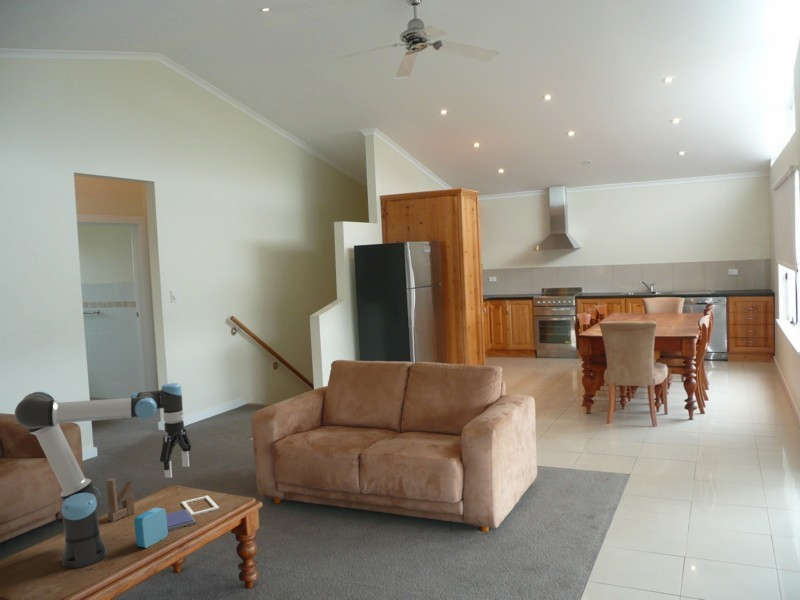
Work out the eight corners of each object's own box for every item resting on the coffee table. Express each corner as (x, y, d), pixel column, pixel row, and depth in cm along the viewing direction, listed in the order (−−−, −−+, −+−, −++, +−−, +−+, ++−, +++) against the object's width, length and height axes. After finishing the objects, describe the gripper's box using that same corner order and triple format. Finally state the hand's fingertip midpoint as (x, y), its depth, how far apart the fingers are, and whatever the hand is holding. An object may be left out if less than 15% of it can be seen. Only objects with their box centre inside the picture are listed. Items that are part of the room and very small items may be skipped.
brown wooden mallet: (135, 513, 285) (131, 473, 284) (113, 522, 276) (108, 481, 275) (130, 511, 287) (126, 472, 286) (108, 521, 278) (103, 480, 277)
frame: (191, 516, 276) (191, 514, 276) (181, 503, 293) (181, 502, 293) (219, 508, 283) (219, 507, 283) (207, 496, 299) (207, 495, 299)
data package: (160, 535, 259) (157, 506, 258) (168, 536, 257) (165, 507, 256) (136, 548, 248) (133, 517, 247) (145, 549, 246) (142, 519, 245)
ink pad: (158, 534, 260) (158, 530, 260) (150, 521, 274) (150, 517, 274) (196, 523, 268) (195, 520, 268) (186, 511, 282) (186, 508, 282)
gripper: (165, 429, 252) (169, 482, 253) (197, 414, 276) (200, 462, 277) (148, 429, 253) (152, 481, 254) (181, 414, 277) (184, 462, 279)
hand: (177, 471), depth 266 cm, fingers open, 13 cm apart
